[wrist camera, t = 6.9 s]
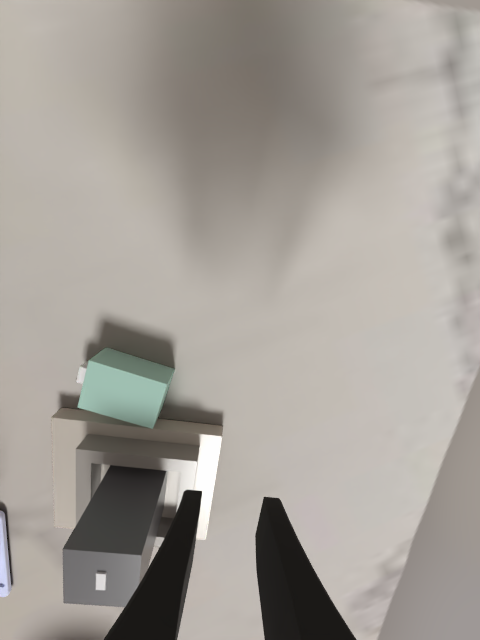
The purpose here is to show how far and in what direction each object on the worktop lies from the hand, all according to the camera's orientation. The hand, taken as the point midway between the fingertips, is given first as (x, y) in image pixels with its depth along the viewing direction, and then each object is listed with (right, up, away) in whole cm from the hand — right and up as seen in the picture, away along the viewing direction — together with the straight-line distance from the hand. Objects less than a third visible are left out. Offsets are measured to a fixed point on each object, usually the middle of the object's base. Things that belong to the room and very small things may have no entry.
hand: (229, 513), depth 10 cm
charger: (-7, -5, +9) cm, 13 cm away
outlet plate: (-8, -4, +11) cm, 14 cm away
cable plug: (-7, +3, +9) cm, 12 cm away
